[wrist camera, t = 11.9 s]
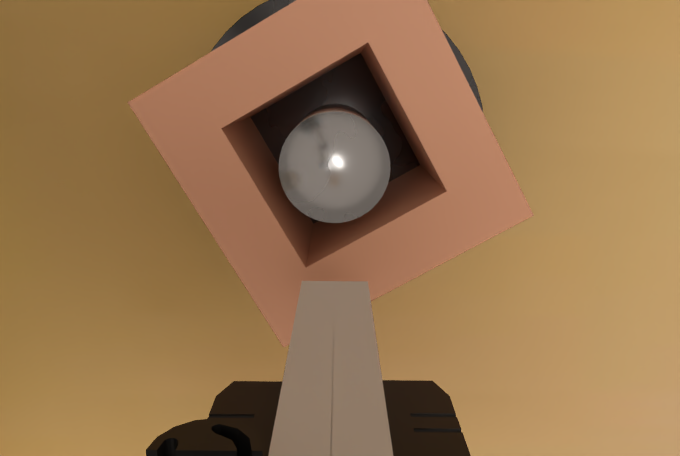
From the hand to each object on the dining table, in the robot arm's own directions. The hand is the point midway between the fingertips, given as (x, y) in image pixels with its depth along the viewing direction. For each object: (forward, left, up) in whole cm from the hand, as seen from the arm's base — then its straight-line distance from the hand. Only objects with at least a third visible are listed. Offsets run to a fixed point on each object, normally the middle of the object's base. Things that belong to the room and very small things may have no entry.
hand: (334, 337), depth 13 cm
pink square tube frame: (-3, 0, -11) cm, 12 cm away
